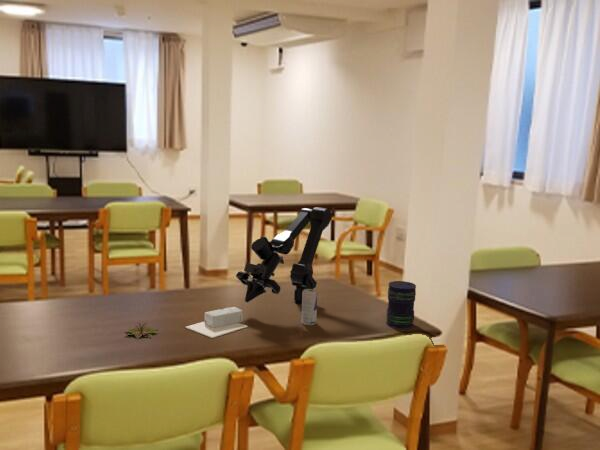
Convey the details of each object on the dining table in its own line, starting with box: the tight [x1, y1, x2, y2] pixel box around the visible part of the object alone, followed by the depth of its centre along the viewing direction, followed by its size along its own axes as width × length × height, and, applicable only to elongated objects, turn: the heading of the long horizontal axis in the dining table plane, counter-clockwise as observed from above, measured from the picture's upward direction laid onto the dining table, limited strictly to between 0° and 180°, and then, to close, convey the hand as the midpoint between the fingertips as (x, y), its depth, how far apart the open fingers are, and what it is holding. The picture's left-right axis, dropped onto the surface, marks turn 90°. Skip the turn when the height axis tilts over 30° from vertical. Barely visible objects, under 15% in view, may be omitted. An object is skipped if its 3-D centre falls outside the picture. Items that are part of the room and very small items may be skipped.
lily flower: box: [125, 320, 159, 339], centre depth 200 cm, size 12×12×5 cm
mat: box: [185, 320, 248, 339], centre depth 208 cm, size 16×14×1 cm
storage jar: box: [385, 280, 417, 330], centre depth 216 cm, size 10×10×15 cm
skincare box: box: [204, 306, 244, 328], centre depth 212 cm, size 6×4×12 cm
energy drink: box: [300, 288, 318, 326], centre depth 215 cm, size 5×5×12 cm
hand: (246, 301), depth 217 cm, fingers closed
